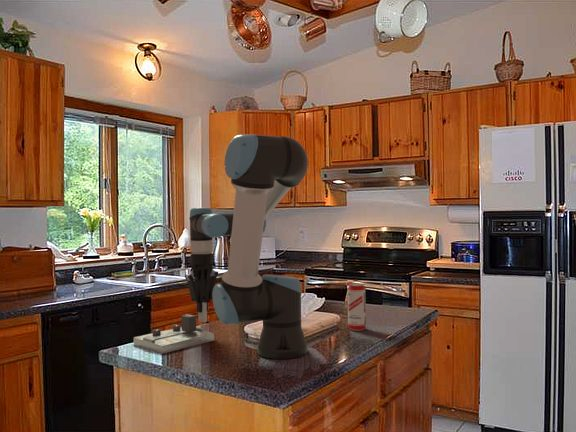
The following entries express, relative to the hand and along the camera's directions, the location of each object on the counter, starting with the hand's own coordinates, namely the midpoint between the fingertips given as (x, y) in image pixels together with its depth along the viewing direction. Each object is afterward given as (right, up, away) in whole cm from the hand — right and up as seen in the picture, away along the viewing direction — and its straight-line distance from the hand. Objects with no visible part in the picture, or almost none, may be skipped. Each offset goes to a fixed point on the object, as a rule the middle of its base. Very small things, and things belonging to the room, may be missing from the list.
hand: (202, 321), depth 180 cm
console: (-8, -5, -9) cm, 13 cm away
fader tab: (-4, -2, -4) cm, 6 cm away
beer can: (+54, -4, +6) cm, 54 cm away
